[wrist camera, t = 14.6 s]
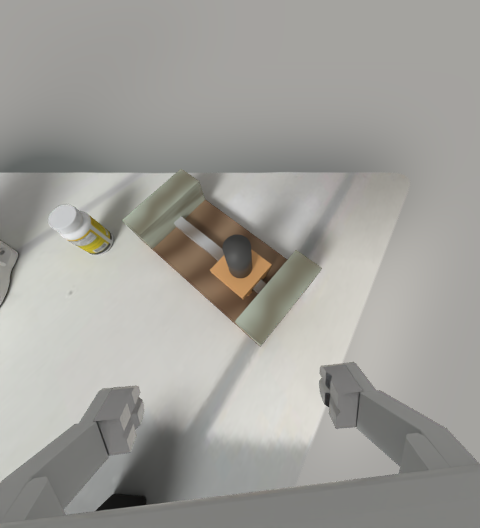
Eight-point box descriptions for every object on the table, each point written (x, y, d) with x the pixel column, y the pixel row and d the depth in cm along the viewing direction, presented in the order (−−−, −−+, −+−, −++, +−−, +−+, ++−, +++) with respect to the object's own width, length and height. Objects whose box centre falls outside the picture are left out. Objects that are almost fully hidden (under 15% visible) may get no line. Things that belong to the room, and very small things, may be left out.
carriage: (212, 275, 34) (198, 250, 26) (239, 246, 36) (234, 214, 27) (243, 301, 33) (239, 283, 24) (270, 270, 34) (275, 243, 26)
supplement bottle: (92, 229, 41) (53, 200, 33) (117, 231, 40) (84, 202, 32) (82, 254, 39) (39, 229, 31) (108, 257, 39) (70, 232, 31)
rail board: (141, 239, 39) (121, 220, 34) (191, 193, 42) (181, 168, 37) (260, 346, 32) (261, 345, 26) (311, 282, 35) (322, 268, 29)
